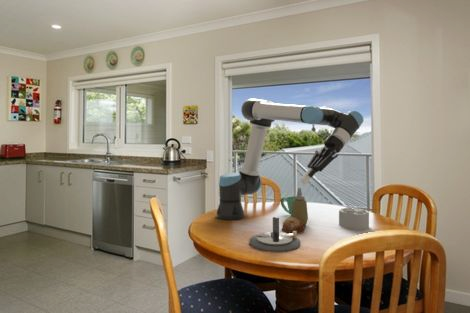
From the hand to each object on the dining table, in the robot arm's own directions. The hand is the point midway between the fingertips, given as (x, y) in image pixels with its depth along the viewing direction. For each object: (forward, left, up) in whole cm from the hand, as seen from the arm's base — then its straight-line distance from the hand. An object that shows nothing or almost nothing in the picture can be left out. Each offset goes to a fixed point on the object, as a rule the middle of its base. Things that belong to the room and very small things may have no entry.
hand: (303, 181), depth 125 cm
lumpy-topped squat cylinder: (+19, +28, -24) cm, 41 cm away
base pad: (-10, -8, -24) cm, 27 cm away
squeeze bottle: (-5, +22, -24) cm, 33 cm away
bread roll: (-6, +12, -24) cm, 27 cm away
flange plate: (-9, -7, -22) cm, 25 cm away
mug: (-12, +40, -24) cm, 48 cm away
